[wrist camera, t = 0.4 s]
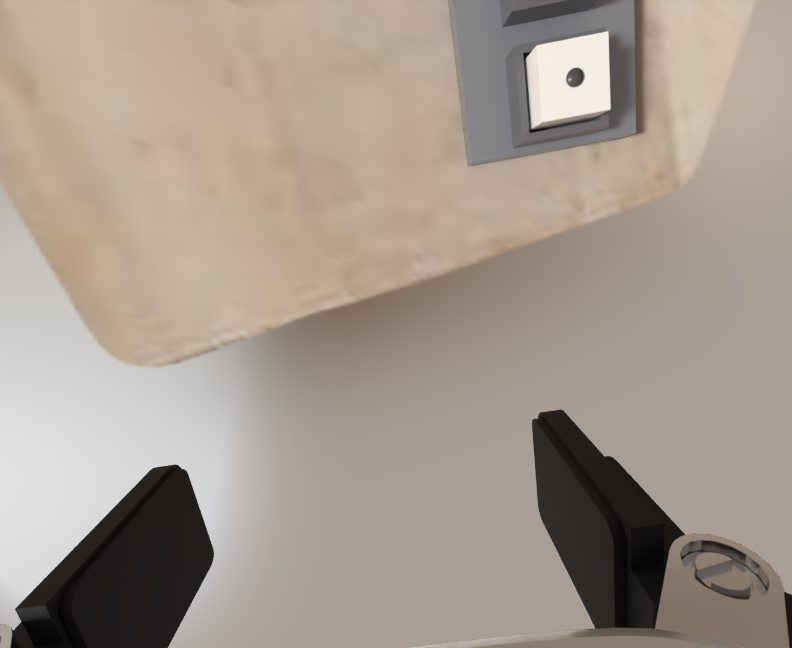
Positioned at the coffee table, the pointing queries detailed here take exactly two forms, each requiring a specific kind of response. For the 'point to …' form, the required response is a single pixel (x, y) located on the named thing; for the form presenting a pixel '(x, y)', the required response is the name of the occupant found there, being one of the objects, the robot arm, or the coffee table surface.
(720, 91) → the coffee table surface
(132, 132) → the coffee table surface
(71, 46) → the coffee table surface
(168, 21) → the coffee table surface
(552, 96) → the one-dot tile
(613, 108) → the key board
